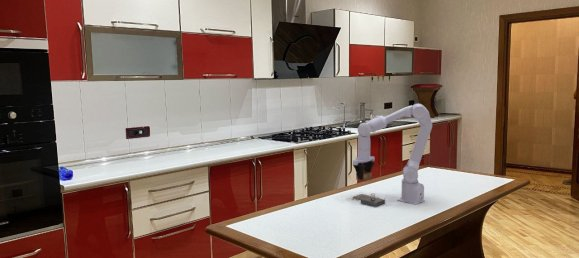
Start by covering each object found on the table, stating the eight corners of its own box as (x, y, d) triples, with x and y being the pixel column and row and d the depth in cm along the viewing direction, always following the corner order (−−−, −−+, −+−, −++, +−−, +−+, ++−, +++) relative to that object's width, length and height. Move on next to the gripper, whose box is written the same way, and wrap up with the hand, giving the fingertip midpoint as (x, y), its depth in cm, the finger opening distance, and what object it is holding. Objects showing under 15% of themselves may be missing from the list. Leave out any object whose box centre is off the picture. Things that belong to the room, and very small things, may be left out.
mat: (374, 197, 200) (374, 196, 200) (365, 200, 195) (365, 199, 195) (361, 195, 205) (361, 193, 204) (352, 198, 200) (352, 196, 200)
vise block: (385, 203, 190) (385, 194, 189) (376, 207, 185) (376, 197, 184) (369, 200, 195) (369, 190, 195) (360, 203, 191) (360, 193, 190)
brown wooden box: (371, 179, 199) (371, 172, 198) (365, 181, 195) (365, 174, 195) (362, 177, 202) (362, 171, 202) (356, 179, 199) (356, 172, 198)
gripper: (365, 146, 205) (365, 174, 206) (347, 150, 195) (347, 179, 196) (378, 148, 200) (378, 176, 202) (360, 151, 190) (359, 182, 191)
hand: (363, 178), depth 199 cm, fingers closed on brown wooden box, 5 cm apart
